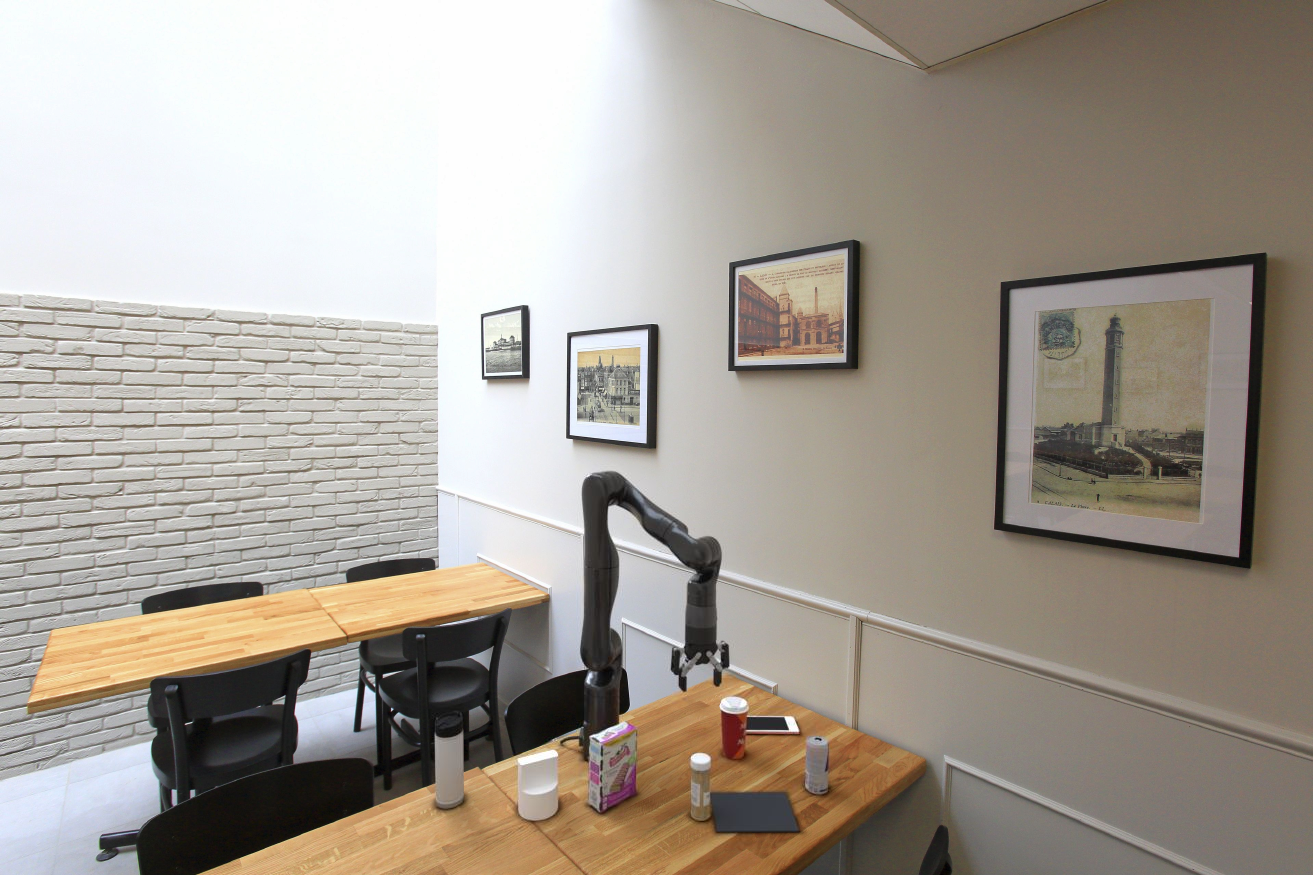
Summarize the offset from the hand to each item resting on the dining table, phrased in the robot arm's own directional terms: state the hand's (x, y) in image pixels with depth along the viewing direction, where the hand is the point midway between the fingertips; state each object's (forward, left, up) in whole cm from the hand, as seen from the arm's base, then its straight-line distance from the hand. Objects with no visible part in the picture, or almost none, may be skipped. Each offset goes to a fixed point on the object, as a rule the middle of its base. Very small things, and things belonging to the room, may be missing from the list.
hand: (700, 687), depth 155 cm
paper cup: (+11, +16, -25) cm, 32 cm away
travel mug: (-58, -4, -25) cm, 64 cm away
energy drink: (+29, 0, -25) cm, 38 cm away
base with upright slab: (-37, -7, -25) cm, 46 cm away
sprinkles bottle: (0, -10, -25) cm, 27 cm away
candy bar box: (-20, -4, -25) cm, 33 cm away
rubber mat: (+12, -9, -25) cm, 29 cm away
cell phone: (+22, +30, -25) cm, 45 cm away
